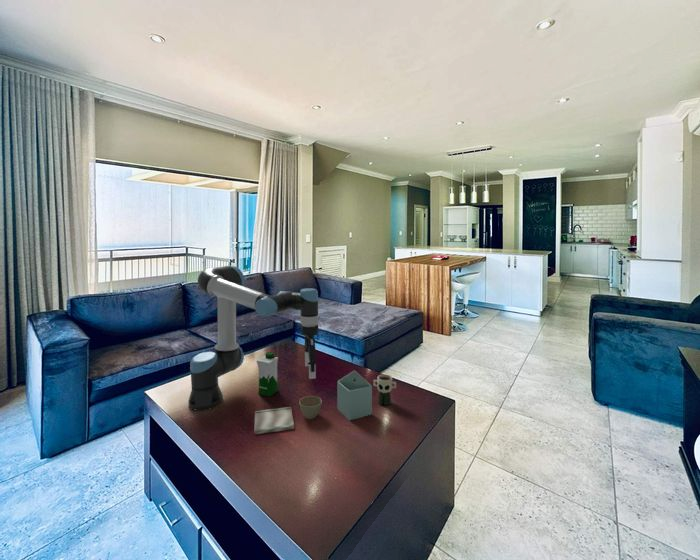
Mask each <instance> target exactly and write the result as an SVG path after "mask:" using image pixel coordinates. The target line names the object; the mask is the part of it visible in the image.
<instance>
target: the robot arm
mask: <svg viewBox="0 0 700 560" xmlns="http://www.w3.org/2000/svg"><path fill="white" fill-rule="evenodd" d="M244 284H245V276H244V273H243V271H241V269H240V268H239V267H238V266H235V265H225V266H216V267H208V268H206V269H204V270H202V271H201V272H200V273H199V275H198V277H197V286H198V288H199V290H200V291H201V292H203V293H204V294H206V295H209V296H211V297H217V343H216V345H214V351H205V352H201V353H198V354H197V355H195V356H193V357H192V358H191V360H190V363H189V365H190V367H189V371H190V381H191V391H190V394H189V397H188V398H189V399H188V401H187V402H188V403H187V404H188V408H189V407H190V408H192V409H196V410H202V411H205V410H204V409H208V410H210V409H209V408H212V409H214V408H216V407H218V406H220V405H221V404H223V401H224V395H223V393H222V390H221V388H220V385H219V378H220V377H221V376H224V375H226V374H228V373H230V372H233V371H235V370H237V369H238V368H240V367H241V366H242V365H243V363H244V361H245V359H244V358H245V355H244V351H243V349H242V347H240V345H239V343H238V342H237V304H239V305H242V306H245V307H247V308H250V309H252V310H255V311H256V313H257V314H258V316H260V317H261V318H266V317H272V316H274V315H276V314H277V315H278V314H280V313H284V312H286V311H288V310H289V311H290V310H297V311H300V333H301V335H303V336H304V345H303V346H304V347H303V348H304V366H305V367H308V379H309V380H314V379H317V376H316V375H317V374H316V373H317V371H316V369H317V354H316V352H317V351H316V338H315V336H316V335H318V334H319V325H318V324H319V319H320V316H319V292H318V290H317V289H316V288H311V287H310V288H309V287H308V288H301V289H300V291H299V292H297V291H288V290H282V291H279V292H278V293H277V294H274V295H270V294H266V293H264V292H260V291H259V290H255V289H253V288H249V287H247V286H244ZM219 404H220V405H219ZM213 407H214V408H213ZM190 408H189V409H190ZM192 409H191V410H192ZM196 410H195V411H196Z"/></svg>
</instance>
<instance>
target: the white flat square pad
mask: <svg viewBox="0 0 700 560" xmlns="http://www.w3.org/2000/svg"><path fill="white" fill-rule="evenodd" d="M253 429H254V430H253V434H254V435H260V434H266V433H273V432H281V431H288V430H294V429H295V424H294V418H293V411H292V406H285V407H278V408H270V409H260V410H255V411H254V428H253Z"/></svg>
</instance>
